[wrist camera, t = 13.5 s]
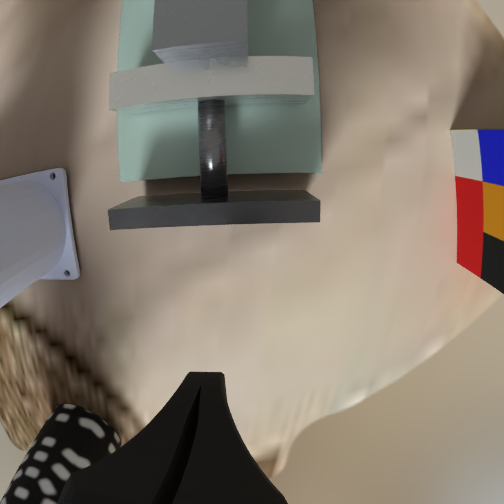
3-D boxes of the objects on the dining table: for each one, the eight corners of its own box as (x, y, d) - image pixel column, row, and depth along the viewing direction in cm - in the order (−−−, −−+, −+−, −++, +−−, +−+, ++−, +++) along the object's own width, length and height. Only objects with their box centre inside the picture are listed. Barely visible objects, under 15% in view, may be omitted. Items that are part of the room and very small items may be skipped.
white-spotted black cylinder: (103, 408, 25) (31, 583, 6) (131, 458, 27) (90, 606, 8) (41, 398, 25) (-40, 535, 6) (72, 447, 27) (18, 573, 8)
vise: (126, 180, 19) (98, 188, 15) (134, -47, 13) (117, -74, 9) (317, 172, 19) (334, 176, 15) (301, -60, 13) (310, -91, 9)
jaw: (139, 212, 18) (110, 229, 14) (133, 85, 16) (102, 69, 12) (304, 206, 18) (320, 222, 14) (301, 73, 16) (316, 51, 12)
